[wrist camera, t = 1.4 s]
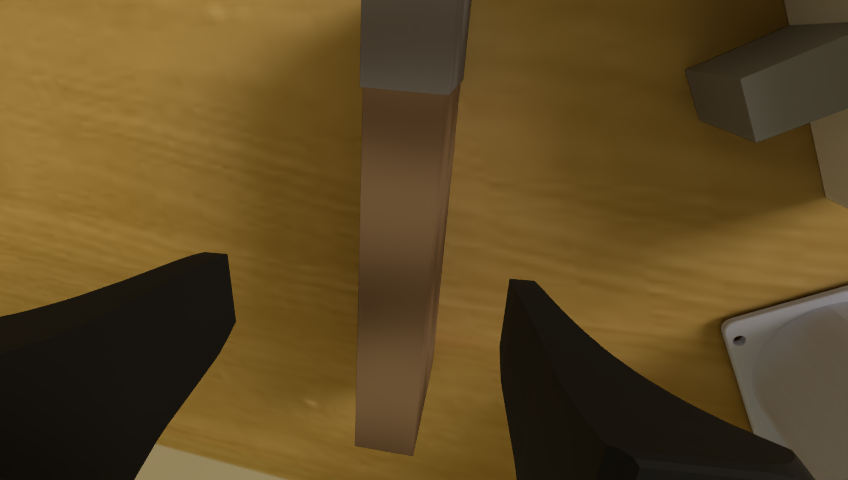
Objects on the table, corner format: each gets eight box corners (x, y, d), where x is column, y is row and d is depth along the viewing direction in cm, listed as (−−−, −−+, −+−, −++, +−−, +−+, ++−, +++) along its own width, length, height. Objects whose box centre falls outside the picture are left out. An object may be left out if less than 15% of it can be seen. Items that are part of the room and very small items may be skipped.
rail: (434, 364, 25) (415, 456, 19) (385, 356, 25) (352, 445, 19) (471, -5, 18) (459, -25, 12) (403, -10, 18) (361, -31, 13)
